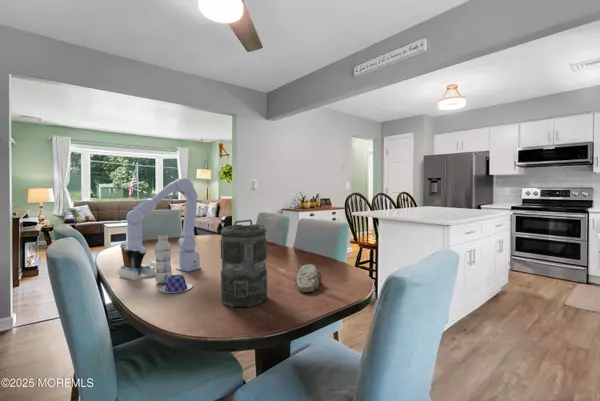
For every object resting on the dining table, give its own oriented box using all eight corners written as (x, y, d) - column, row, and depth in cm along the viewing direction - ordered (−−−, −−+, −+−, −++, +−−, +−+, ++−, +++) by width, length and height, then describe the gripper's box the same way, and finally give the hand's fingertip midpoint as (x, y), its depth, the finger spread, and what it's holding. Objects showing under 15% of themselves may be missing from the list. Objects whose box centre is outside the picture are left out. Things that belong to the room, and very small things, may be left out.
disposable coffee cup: (135, 268, 150) (134, 244, 150) (116, 268, 150) (115, 244, 150) (145, 264, 160) (145, 241, 159) (127, 264, 160) (127, 241, 160)
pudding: (157, 288, 122) (157, 274, 122) (189, 283, 128) (188, 270, 128) (161, 297, 112) (161, 282, 112) (195, 291, 118) (195, 277, 118)
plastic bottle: (166, 285, 124) (165, 236, 123) (151, 284, 125) (150, 236, 124) (175, 281, 130) (174, 234, 129) (161, 280, 131) (160, 233, 131)
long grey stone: (319, 272, 148) (298, 273, 148) (318, 261, 148) (297, 262, 148) (321, 293, 113) (294, 294, 113) (320, 278, 113) (293, 280, 113)
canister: (246, 289, 119) (246, 217, 118) (276, 298, 109) (275, 219, 108) (211, 301, 107) (210, 220, 105) (241, 312, 96) (240, 224, 95)
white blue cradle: (168, 271, 145) (167, 262, 145) (134, 280, 131) (134, 269, 131) (153, 268, 151) (152, 259, 151) (119, 276, 138) (119, 266, 137)
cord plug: (141, 272, 138) (141, 256, 138) (134, 273, 136) (134, 258, 136) (137, 271, 140) (137, 256, 140) (131, 272, 137) (130, 257, 137)
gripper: (117, 237, 138) (117, 267, 138) (135, 239, 130) (135, 271, 130) (132, 235, 144) (133, 263, 144) (150, 237, 136) (151, 268, 136)
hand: (135, 267), depth 138 cm, fingers closed on cord plug, 3 cm apart
